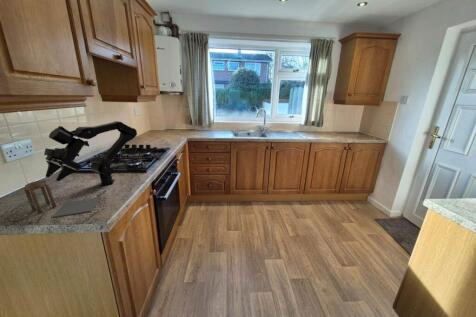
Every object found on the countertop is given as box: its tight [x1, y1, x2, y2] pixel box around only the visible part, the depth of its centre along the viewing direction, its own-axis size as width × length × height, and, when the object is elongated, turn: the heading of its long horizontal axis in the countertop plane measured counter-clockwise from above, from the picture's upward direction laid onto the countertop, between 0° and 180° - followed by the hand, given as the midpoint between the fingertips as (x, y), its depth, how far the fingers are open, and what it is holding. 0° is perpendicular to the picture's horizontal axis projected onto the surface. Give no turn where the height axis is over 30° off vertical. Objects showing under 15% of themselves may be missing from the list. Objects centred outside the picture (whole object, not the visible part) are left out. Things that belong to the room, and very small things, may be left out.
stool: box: [23, 179, 57, 215], centre depth 90 cm, size 6×6×12 cm
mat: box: [52, 197, 100, 218], centre depth 93 cm, size 12×14×1 cm
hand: (51, 179), depth 93 cm, fingers open, 9 cm apart
